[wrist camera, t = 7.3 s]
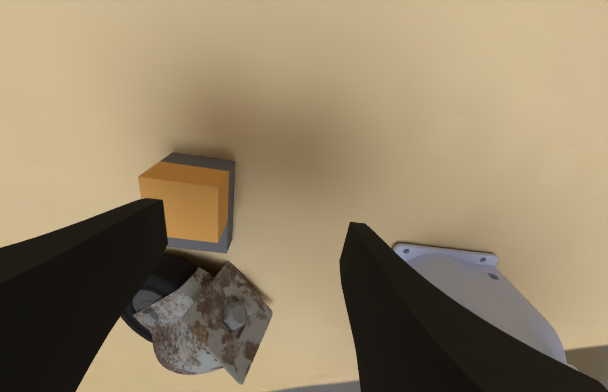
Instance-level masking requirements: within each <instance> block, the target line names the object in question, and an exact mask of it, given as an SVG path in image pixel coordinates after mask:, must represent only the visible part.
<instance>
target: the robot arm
mask: <svg viewBox="0 0 608 392" xmlns="http://www.w3.org/2000/svg"><path fill="white" fill-rule="evenodd" d="M167 245H168V238H167V230H166V221H165V213H164V205H163V200H161V199H152V198H144V199H140V200H137V201H134V202H131V203H128V204H126V205H123V206H120V207H118V208H115V209H113V210H110V211H107V212H105V213H102V214H100V215H97V216H94V217H92V218H89V219H87V220H84V221H81V222H78V223H76V224H73V225H70V226H67V227H64V228H61V229H59V230H56V231H53V232H50V233H47V234H44V235H41V236H38V237H35V238H32V239H29V240H26V241H22V242H19V243H16V244H12V245H9V246H5V247H2V248H0V392H76V390H77V388H78V386H79V384H80V382H81V381H82V379H83V377H84V375H85V373H86V372H87V370H88V368H89V366H90V364H91V363H92V361H93V359H94V358H95V356H96V354H97V353H98V351H99V349H100V347H101V346H102V344H103V342H104V341H105V339H106V337H107V335H108V334H109V332H110V331H111V329H112V328H113V326H114V325H115V323H116V322H117V320H118V319H119V318H120V316H121V315H122V313H123V312H124V311H125V309H126V308H127V306H128V305H129V304H130V302H131V301H132V300H133V298H134V297H135V295H136V294H137V293H138V291H139V290H140V289H141V287H142V286H143V284H144V283H145V282H146V280H147V279H148V277H149V276H150V275H151V273H152V272H153V270H154V269H155V267H156V266H157V264H158V262H159V260H160V259H161V257H162V255H163V253H164V251H165V249H166V247H167ZM405 249H407V250H405ZM404 250H405V251H404ZM498 261H499V258H498V257H497V256H496V255H495V254H489V253H481V252H472V251H463V250H455V249H446V248H437V247H429V246H420V245H412V244H403V243H399V244H396V245H395V246H394V248H393V250H392V249H391V248H390V247H389V246H388V245H387V244H386V243H385V242H384V241H383V240H382V239H381V238H380V237H379V236H378V235H377V234H376V233H375V232H374V231H373V230H372V229H371V228H370V227H369V226H367V225H366V224H364V223H356V222H350V224H349V228H348V232H347V235H346V239H345V243H344V247H343V250H342V254H341V258H340V261H339V262H340V275H341V285H342V289H343V294H344V299H345V303H346V308H347V312H348V316H349V321H350V325H351V330H352V334H353V338H354V344H355V349H356V355H357V363H358V371H359V379H360V387H361V392H608V390H607V389H606V388H605V387H604V386H603V385H602V384H601V383H600V382H599V381H597V380H595V379H593V378H591V377H589V376H587V375H585V374H583V373H581V372H579V371H578V370H577V369H576V368H575V367H574V366H572V365H569V364H566V357H565V352H564V349H563V346H562V344H561V341H560V339H559V337H558V335H557V333H556V332H555V330H554V329H553V327H552V326H551V324H550V323H549V322H548V321H547V320H546V319H545V318H544V317H543V316H542V315H541V314H540V313H539V311H538V310H537V309H536V308H535V307H534V306H533V305H532V304H531V303H530V302H529V301H528V300H527V299H526V298H525V297H524V296H523V295H522V294H521V293H520V292H519V291H518V290H517V289H516V288H515V287H514V286H513V285H512V284H511V283H510V282H509V280H508V279H507V278H506V277H505V276H504V275H503V274H502V273H501V272H500V271H499V270H498V269H497V268H496V267H495V266H496V264H497V263H498Z"/></svg>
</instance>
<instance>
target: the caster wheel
mask: <svg viewBox="0 0 608 392" xmlns="http://www.w3.org/2000/svg"><path fill="white" fill-rule="evenodd" d="M271 317H272V310H271V309H270V308H269V307H268V306H267V304H266V303H265V302H264V301H263V300H262V298H261V297H260V296H259V295H258V294H257V292H256V291H255V290H254V289H253V288H252V286H251V285H250V284H249V283H248V282H247V281H246V279H245V278H244V277H243V276H242V275H241V273H240V272H239V271H238V270H237V269H236V267H235V266H234V265H233V264H232V263H230V262H229V261H228V262H227V263H226V264H225V265H224V266H223V268H222V269H221V270H220V271H219V273H218V274H217V275H216V276H215V277H214V278H213V276H212V275H210V274H209V273H208V272H207V271H205V270H203V269H201V268H200V267H198V268H197V269H195V268H193V267H192V266H191V265H189V264H188V263H186V262H184V261H183V260H181V259H178V258H176V257H173V256H170V255H164V254H163V255H162V257H161V259H160V260H159V262H158V264H157V266H156V267H155V269H154V270H153V272H152V273H151V275H150V276H149V277H148V279H147V280H146V282H145V283H144V284H143V286H142V287H141V289H140V290H139V291H138V293H137V294H136V295H135V297H134V298H133V300H132V301H131V302H130V304H129V305H128V306H127V308H126V309H125V311H124V312H123V313H122V315H121V318H122V319H123V320H124V321H125V322H126V324H127V325H128V326H129V327H130V328H131V329H132V330H134V331H135V332H136V333H137V334H139V335H140V336H142V337H143V338H145V339H146V340H148V341H150V342H152V343H153V347H154V352H155V355H156V357H157V359H158V361H159V362H160V363H161V365H162V366H163V367H165V368H166V369H168V370H170V371H172V372H175V373H178V374H183V375H196V374H203V373H208V372H212V371H215V370H218V369H221V368H225V370H226V371H227V372H228V373H229V374H230V375H231V376H232V377H233V378H234V379H235V380H236V381H237V382H238V383H239V384H242V385H243V383H244V380H245V378H246V376H247V373H248V371H249V369H250V366H251V364H252V362H253V359H254V357H255V355H256V352H257V350H258V348H259V345H260V343H261V341H262V338H263V336H264V334H265V331H266V329H267V327H268V324H269V322H270V320H271Z"/></svg>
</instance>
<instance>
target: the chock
mask: <svg viewBox="0 0 608 392" xmlns="http://www.w3.org/2000/svg"><path fill="white" fill-rule="evenodd" d="M138 179H139V185H140V192H141V199H144V198H152V199H161V200H163V205H164V213H165V221H166V230H167V237H168V245H169V247H175V248H184V249H193V250H201V251H210V252H219V253H227V251H228V249H229V246H230V243H231V241H232V228H233V203H234V179H235V162H234V161H227V160H220V159H213V158H207V157H200V156H193V155H186V154H179V153H171V154H170V155H168V156H167V157H165V158H164V159H163V160H161V161H160V162H158V163H157V164H155V165H154V166H153V167H151V168H150V169H148V170H147V171H146V172H144V173H143V174H141V175H140V176H139V177H138Z"/></svg>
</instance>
